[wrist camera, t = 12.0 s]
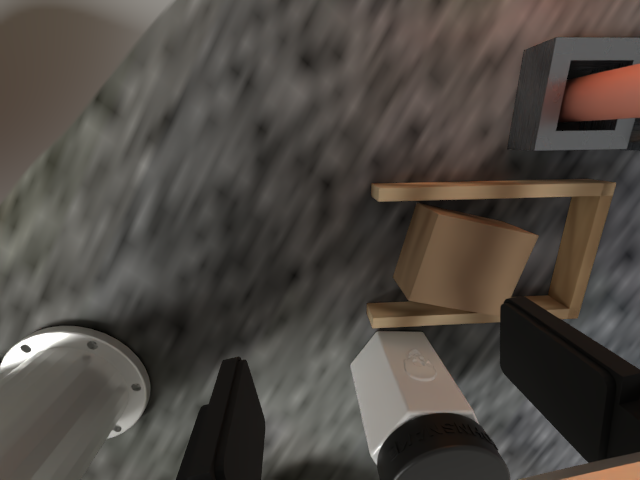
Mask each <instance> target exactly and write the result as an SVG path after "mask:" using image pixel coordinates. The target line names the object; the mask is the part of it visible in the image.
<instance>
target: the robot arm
mask: <svg viewBox="0 0 640 480" xmlns="http://www.w3.org/2000/svg"><path fill="white" fill-rule="evenodd" d="M500 366H501V369H502V371H503V373H504V374H505V375H506V376H507V377H508V379H509V380H510V381H511V382H512V383H513V384H514V385H515V386H516V387H517V388H518V389H519V390H520V391H521V392H522V393H523V394H524V395H525V396H526V398H527V399H528V400H529V401H530V402H531V403H532V404H533V405H534V406H535V407H536V408H537V409H538V410H539V411H540V412H541V413H542V414H543V415H544V417H545V418H546V419H547V420H548V421H549V422H550V423H551V424H552V425H553V426H554V427H555V428H556V429H557V430H558V431H559V432H560V433H561V434H562V436H563V437H564V438H565V439H566V440H567V441H568V442H569V443H570V444H571V445H572V446H573V447H574V448H575V449H576V450H577V451H578V452H579V453H580V455H581V456H582V457H583V458H584V459H585V460H586V461H587V462H588V463H587V464H583V465H578V466H574V467H570V468H565V469H561V470H557V471H553V472H548V473H544V474H540V475H535V476H531V477H527V478H523V479H518V480H640V369H638V368H637V367H635V366H633V365H632V364H630V363H629V362H627V361H626V360H624V359H622V358H621V357H619V356H618V355H616V354H614V353H613V352H611V351H610V350H608V349H607V348H605V347H603V346H602V345H600V344H599V343H597V342H596V341H594V340H592V339H591V338H589V337H588V336H586V335H585V334H583V333H581V332H580V331H578V330H577V329H575V328H574V327H572V326H570V325H569V324H567V323H566V322H564V321H562V320H561V319H559V318H558V317H556V316H555V315H553V314H551V313H550V312H548V311H547V310H545V309H544V308H542V307H540V306H539V305H537V304H536V303H534V302H533V301H531V300H529V299H528V298H526V297H524V296H517V297H513V298H508V299H505V301H504V304H502V305H501V307H500ZM150 390H151V386H150V380H149V376H148V374H147V371H146V369H145V367H144V365H143V364H142V362H141V361H140V359H139V358H138V357H137V356H136V355H135V354H134V353H133V352H132V351H131V350H130V349H129V348H128V347H127V346H125V345H124V344H123V343H121V342H120V341H119V340H117V339H115V338H113V337H111V336H109V335H107V334H105V333H102V332H99V331H96V330H93V329H90V328H84V327H79V326H56V327H48V328H45V329H42V330H39V331H35V332H34V333H32V334H30V335H28V336H26V337H25V338H23V339H22V340H21V341H19V342H18V343H17V344H15V345H14V346H13V347H12V348H11V349H10V350H9V351H8V352H7V353H6V354H5V356H4V358H3V360H2V362H1V364H0V480H80V479H81V478H82V476H83V475H84V473H85V472H86V470H87V469H88V467H89V465H90V464H91V462H92V461H93V459H94V458H95V456H96V455H97V453H98V451H99V450H100V448H101V447H102V445H103V444H104V442H105V441H106V439H108V438H111V437H115V436H117V435H119V434H121V433H123V432H125V431H127V430H128V429H129V428H131V427H132V426H133V425H134V424H135V423H136V422H137V421H138V419H139V418H140V417H141V415H142V414H143V412H144V410H145V408H146V407H147V404H148V401H149V398H150ZM264 438H265V419H264V415H263V412H262V409H261V405H260V402H259V399H258V396H257V392H256V389H255V386H254V382H253V379H252V376H251V373H250V369H249V366H248V363H247V361H246V360H241V358H240V357H235V358H230V359H225V360H223V361H222V364H221V367H220V370H219V373H218V376H217V380H216V383H215V386H214V389H213V392H212V396H211V399H210V402H209V404H208V405H203V406H202V407H201V409H200V411H199V413H198V416H197V419H196V422H195V425H194V428H193V431H192V434H191V437H190V440H189V443H188V446H187V449H186V451H185V454H184V457H183V460H182V463H181V466H180V469H179V472H178V475H177V478H176V480H261V474H262V462H263V450H264Z"/></svg>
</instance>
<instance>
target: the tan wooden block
mask: <svg viewBox="0 0 640 480" xmlns="http://www.w3.org/2000/svg"><path fill="white" fill-rule="evenodd" d="M537 239H538V235H536V234H533V233H531V232H528V231H526V230H523V229H521V228H518V227H516V226H513V225H511V224H508V223H506V222H503V221H499V220H495V219H490V218H485V217H481V216H476V215H472V214H467V213H463V212H458V211H454V210H449V209H444V208H440V207H435V206H431V205H426V204H422V203H416V206H415V210H414V213H413V216H412V219H411V222H410V225H409V228H408V231H407V235H406V238H405V241H404V244H403V247H402V250H401V253H400V256H399V259H398V263H397V266H396V269H395V272H394V275H393V278H394V280H395V281H396V283H397V284H398V286H399V287H400V289H401V290H402V292H403V293H404V295H405V296H406V297H407V299H408V300H409V301H413V302H419V303H424V304H430V305H436V306H442V307H447V308H453V309H459V310H464V311H470V312H476V313H481V314H487V315H493V316H499V317H500V307H501V305H502V304H504V301H505V299H508V298H511V296H512V294H513V291H514V289H515V287H516V285H517V283H518V280H519V278H520V276H521V274H522V272H523V269H524V267H525V265H526V263H527V261H528V258H529V256H530V254H531V252H532V250H533V247H534V245H535V243H536V241H537Z"/></svg>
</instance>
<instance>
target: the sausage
mask: <svg viewBox="0 0 640 480" xmlns="http://www.w3.org/2000/svg"><path fill="white" fill-rule="evenodd" d="M626 118H640V64H635V65H631V66H627V67H622V68H618V69H613V70H609V71H604V72H600V73H595V74H591V75H586V76H582V77H577V78H573V79H568V80H567V81H566V85H565V90H564V95H563V100H562V104H561V109H560V114H559V118H558V123H564V122H579V121H595V120H610V119H626Z"/></svg>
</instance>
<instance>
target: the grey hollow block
mask: <svg viewBox="0 0 640 480" xmlns="http://www.w3.org/2000/svg"><path fill="white" fill-rule="evenodd" d="M635 64H640V38H598V37H556V38H554V39H551V40H549V41H546V42H544V43H541V44H539V45H536V46H534V47H531V48H529V49H526V50H524V54H523V60H522V66H521V72H520V78H519V83H518V89H517V95H516V101H515V107H514V113H513V119H512V125H511V131H510V136H509V142H508V148H507V149H511V150H532V151H540V150H597V149H620V150H638V151H640V118H626V119H610V120H595V121H581V123H580V127H579V131H556V128H557V123H558V118H559V114H560V109H561V104H562V100H563V95H564V90H565V85H566V81H567V76H568V71H569V70H593V72H592V74H595V73H600V72H604V71H609V70H613V69H618V68H622V67H627V66H631V65H635Z"/></svg>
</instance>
